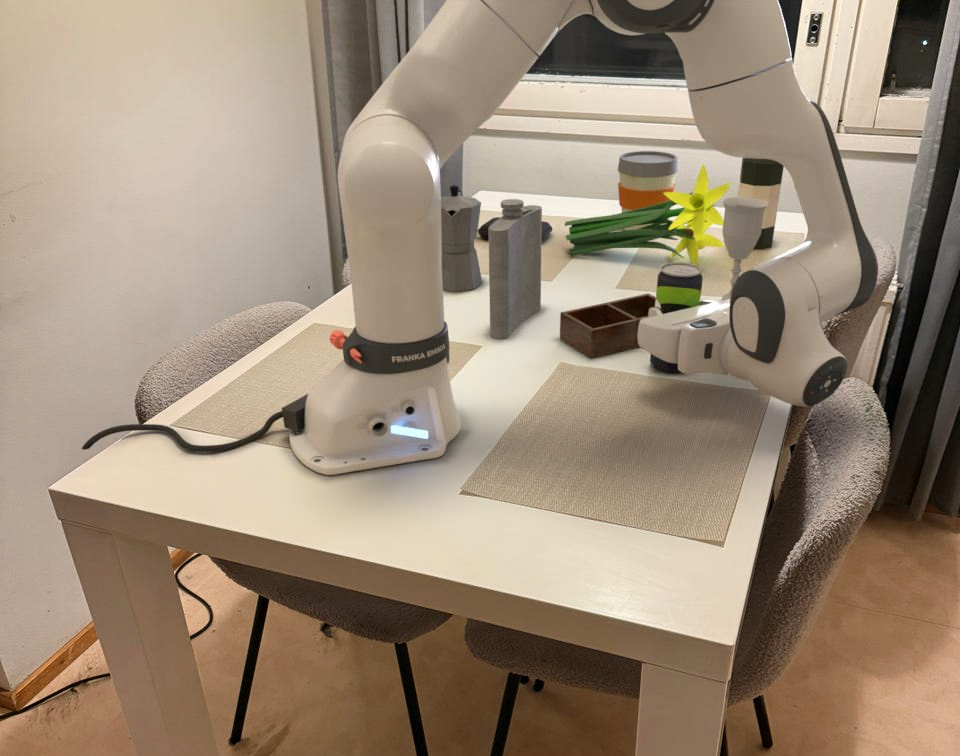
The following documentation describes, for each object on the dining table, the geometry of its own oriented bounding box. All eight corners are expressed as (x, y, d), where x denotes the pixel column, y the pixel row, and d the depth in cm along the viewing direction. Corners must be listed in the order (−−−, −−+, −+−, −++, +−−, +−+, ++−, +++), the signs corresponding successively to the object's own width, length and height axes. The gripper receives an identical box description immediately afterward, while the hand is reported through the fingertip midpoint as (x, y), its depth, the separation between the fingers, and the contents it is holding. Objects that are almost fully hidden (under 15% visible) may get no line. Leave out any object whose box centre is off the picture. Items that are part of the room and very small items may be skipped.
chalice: (760, 308, 154) (776, 201, 145) (740, 319, 150) (755, 210, 140) (722, 299, 158) (735, 194, 149) (702, 309, 154) (714, 203, 145)
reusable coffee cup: (614, 219, 203) (618, 150, 195) (671, 220, 202) (677, 150, 194) (614, 235, 193) (618, 163, 185) (673, 236, 191) (680, 163, 183)
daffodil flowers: (593, 241, 192) (757, 215, 173) (577, 294, 186) (746, 273, 167) (561, 182, 180) (734, 147, 161) (543, 237, 174) (720, 207, 155)
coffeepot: (480, 296, 162) (478, 194, 153) (428, 296, 163) (423, 194, 153) (485, 269, 175) (483, 173, 166) (437, 268, 176) (433, 174, 167)
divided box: (590, 359, 137) (591, 330, 135) (559, 339, 144) (560, 312, 142) (679, 337, 144) (682, 309, 141) (646, 319, 151) (648, 293, 148)
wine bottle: (777, 241, 187) (801, 85, 171) (765, 251, 181) (788, 90, 165) (738, 235, 191) (758, 82, 175) (725, 245, 185) (744, 88, 169)
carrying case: (556, 233, 195) (494, 227, 200) (556, 219, 194) (493, 213, 199) (539, 246, 187) (475, 240, 192) (540, 232, 185) (474, 226, 190)
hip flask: (504, 340, 144) (503, 214, 134) (482, 336, 146) (479, 212, 135) (543, 307, 156) (545, 190, 146) (522, 304, 158) (522, 188, 148)
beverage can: (695, 361, 136) (706, 264, 128) (688, 377, 131) (699, 277, 123) (654, 356, 137) (663, 260, 130) (645, 372, 132) (654, 272, 125)
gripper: (799, 302, 122) (730, 274, 132) (679, 331, 114) (615, 299, 124) (791, 346, 125) (724, 315, 136) (674, 377, 117) (613, 341, 128)
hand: (671, 307), depth 130 cm, fingers closed on beverage can, 5 cm apart
